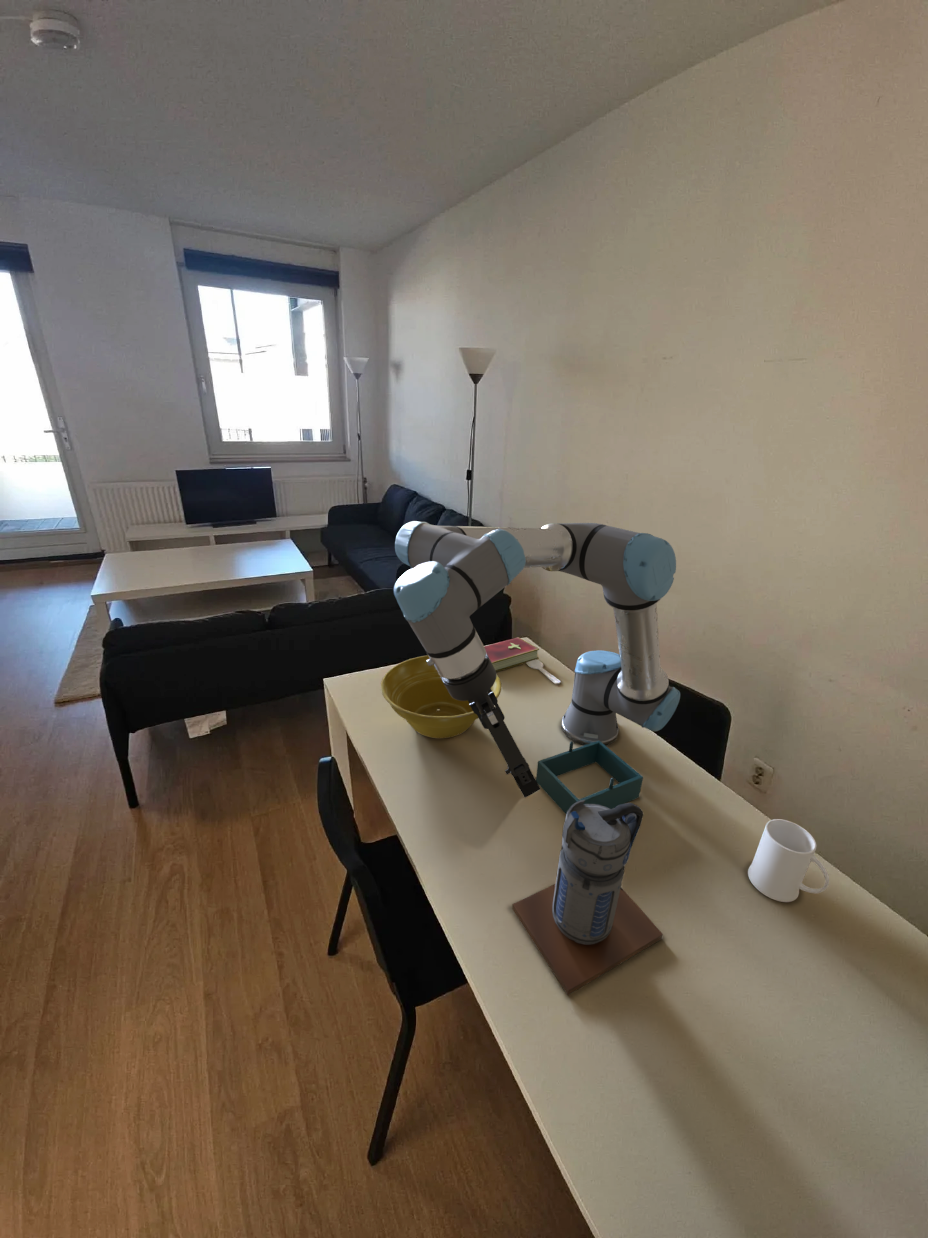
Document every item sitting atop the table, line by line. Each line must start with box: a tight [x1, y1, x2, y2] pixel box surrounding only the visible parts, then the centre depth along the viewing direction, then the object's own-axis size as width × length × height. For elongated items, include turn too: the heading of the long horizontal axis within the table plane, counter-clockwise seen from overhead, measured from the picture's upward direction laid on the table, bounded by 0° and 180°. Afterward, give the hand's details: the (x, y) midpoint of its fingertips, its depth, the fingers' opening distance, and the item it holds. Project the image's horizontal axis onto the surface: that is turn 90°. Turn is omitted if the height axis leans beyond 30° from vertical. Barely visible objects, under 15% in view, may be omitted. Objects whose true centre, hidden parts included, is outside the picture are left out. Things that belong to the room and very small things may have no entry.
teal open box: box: [535, 740, 644, 816], centre depth 117 cm, size 19×15×9 cm
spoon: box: [525, 659, 561, 685], centre depth 169 cm, size 5×18×1 cm, turn 25°
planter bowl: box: [380, 654, 502, 739], centre depth 138 cm, size 32×32×13 cm
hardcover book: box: [483, 636, 540, 673], centre depth 175 cm, size 12×21×4 cm, turn 123°
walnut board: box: [511, 883, 664, 996], centre depth 88 cm, size 20×16×1 cm
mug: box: [747, 818, 830, 903], centre depth 93 cm, size 12×8×12 cm
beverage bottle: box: [552, 800, 644, 945], centre depth 82 cm, size 10×13×25 cm
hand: (516, 763), depth 82 cm, fingers open, 13 cm apart
